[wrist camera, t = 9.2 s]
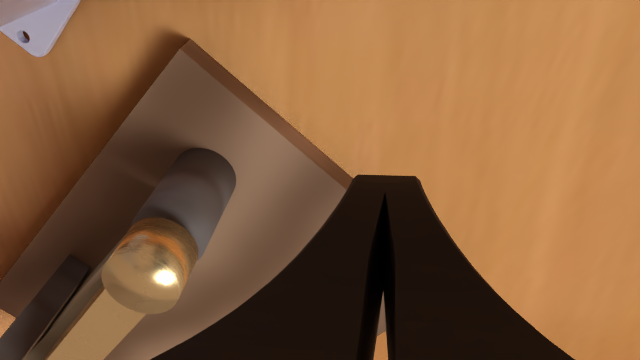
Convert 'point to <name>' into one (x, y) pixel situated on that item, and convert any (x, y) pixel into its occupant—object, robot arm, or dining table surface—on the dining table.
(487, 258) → the dining table surface
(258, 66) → the dining table surface
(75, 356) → the latch bar
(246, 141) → the wooden base plate
